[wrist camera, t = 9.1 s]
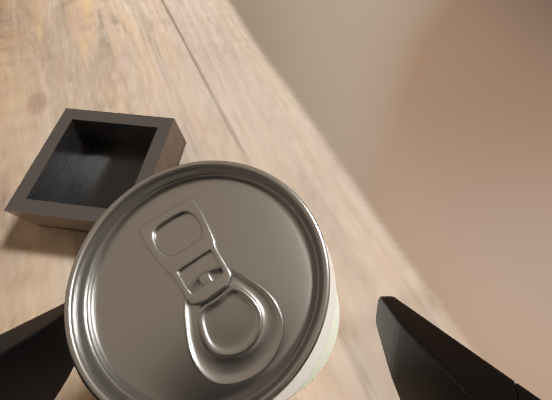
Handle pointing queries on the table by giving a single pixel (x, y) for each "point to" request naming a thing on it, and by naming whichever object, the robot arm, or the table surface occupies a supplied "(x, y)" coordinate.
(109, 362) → the can
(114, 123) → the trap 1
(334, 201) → the table surface
